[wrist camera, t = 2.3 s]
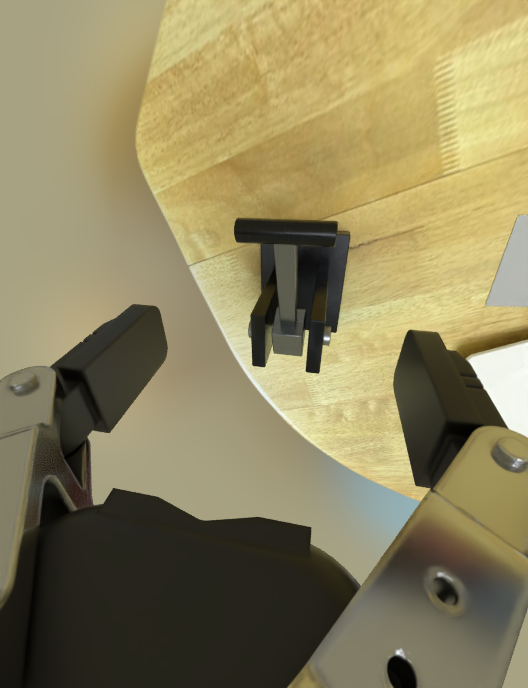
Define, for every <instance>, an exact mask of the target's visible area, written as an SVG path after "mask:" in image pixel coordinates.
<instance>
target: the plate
mask: <svg viewBox="0 0 528 688" xmlns="http://www.w3.org/2000/svg"><path fill="white" fill-rule="evenodd" d="M465 359H466V360H467V361H468V362H469V363H470V364H471V366H472V367H473V369H474V371H475V372H476V374H477V378H479V379H480V381H481V383H482V384H483V386H484V390H486V391H487V393H488V395H489V396H490V398H491V400H492V401H493V403H494V405H495V406H496V408H497V410H498V411H499V413H500V415H501V417H502V418H503V420H504V422H505V423H506V425H507V427H508V428H509V429H510V430H513V431H515V432H518V433H520V434H522V435H524V436H526V437H527V438H528V340H524V341H520V342H516V343H513V344H509V345H505V346H501V347H497V348H494V349H490V350H486V351H482V352H478V353H475V354H471V355H469V356H468V357H467V358H465Z"/></svg>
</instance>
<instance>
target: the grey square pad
mask: <svg viewBox="0 0 528 688" xmlns="http://www.w3.org/2000/svg"><path fill="white" fill-rule="evenodd" d="M485 306H509V307H528V215H518V217H517V220H516V223H515V226H514V228H513V231H512V234H511V237H510V239H509V242H508V245H507V247H506V250H505V253H504V256H503V258H502V261H501V264H500V267H499V269H498V272H497V275H496V278H495V280H494V283H493V286H492V289H491V291H490V294H489V297H488V300H487V302H486V305H485Z"/></svg>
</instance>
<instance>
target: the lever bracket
mask: <svg viewBox="0 0 528 688" xmlns="http://www.w3.org/2000/svg"><path fill="white" fill-rule="evenodd" d="M349 242H350V232H340V231H337V238H336V245H335V247H316V246H297V309H304V310H306V327H305V330H309V337H308V349H307V361H306V372H309V373H319V372H320V364H321V355H322V347H323V345H327V346H329V344H330V337H331V332H334V333H336V332H337V325H338V318H339V311H340V304H341V297H342V290H343V283H344V277H345V270H346V263H347V256H348V249H349ZM277 307H279V302H278V290H277V277H276V265H275V253H274V244H261V295H260V297H259V299H258V301H257V303H256V305H255V307H254V309H253V311H252V313H251V320H250V323H249V328H248V335H249V337H250V338H251V341H252V365H253V366H258V367H265V366H266V363H267V360H268V357H269V354H270V350H271V347H272V336H271V332H272V327H273V322H274V317H275V312H276V308H277Z"/></svg>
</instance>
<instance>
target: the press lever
mask: <svg viewBox="0 0 528 688" xmlns="http://www.w3.org/2000/svg"><path fill="white" fill-rule="evenodd" d="M337 229H338V222H337V221H318V220H289V219H260V218H237V219H236V221H235V226H234V235H235V240H236V242H238V243H254V244H274V253H275V265H276V277H277V290H278V302H279V307H277V308H276V312H275V317H274V322H273V327H272V332H271V336H272V344H273V351H274V353H275V354H284V355H293V356H302V353H303V345H304V338H305V327H306V310H304V309H297V246H316V247H335V245H336V238H337Z"/></svg>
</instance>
